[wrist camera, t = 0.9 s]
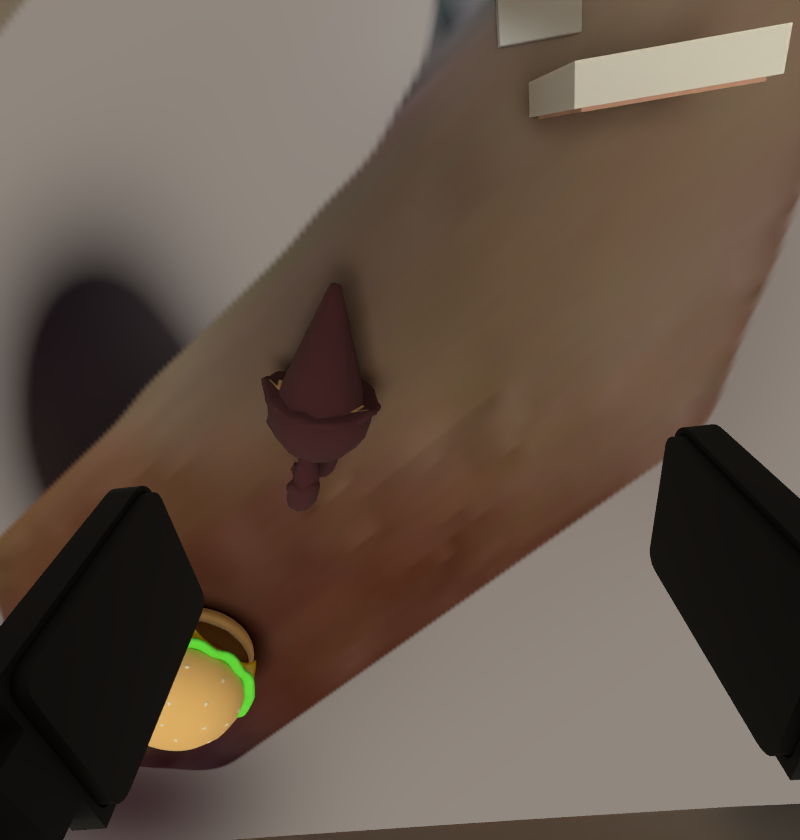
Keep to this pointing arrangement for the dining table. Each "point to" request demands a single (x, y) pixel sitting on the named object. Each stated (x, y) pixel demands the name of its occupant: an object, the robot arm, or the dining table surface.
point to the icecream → (320, 400)
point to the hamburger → (208, 685)
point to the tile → (661, 72)
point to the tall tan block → (536, 20)
